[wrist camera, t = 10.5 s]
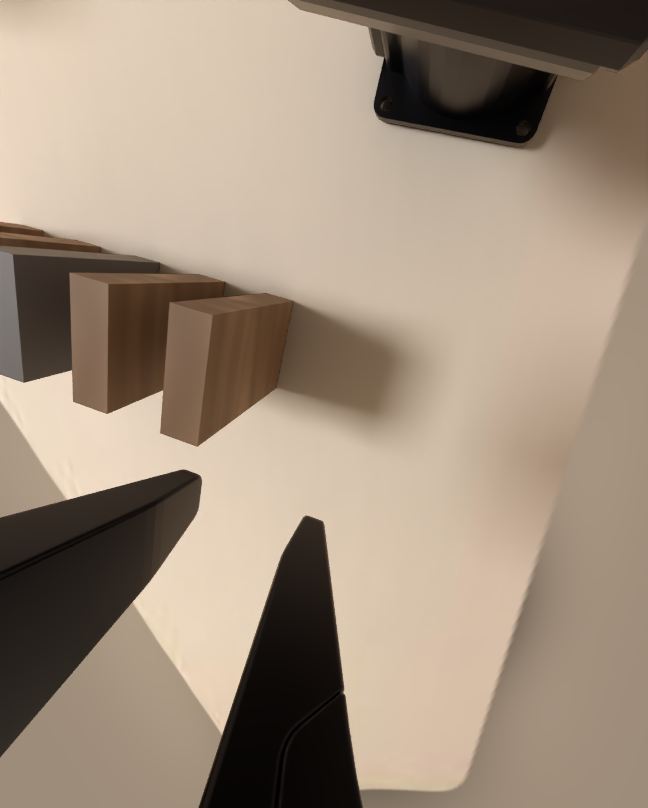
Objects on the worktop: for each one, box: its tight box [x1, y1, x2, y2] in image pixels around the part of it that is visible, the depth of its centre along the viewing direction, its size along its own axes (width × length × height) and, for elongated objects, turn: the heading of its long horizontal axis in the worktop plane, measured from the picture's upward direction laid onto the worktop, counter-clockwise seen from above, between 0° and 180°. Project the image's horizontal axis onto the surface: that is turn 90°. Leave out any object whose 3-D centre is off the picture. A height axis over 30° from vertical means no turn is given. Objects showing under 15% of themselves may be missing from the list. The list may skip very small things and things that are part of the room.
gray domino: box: [0, 246, 160, 383], centre depth 18 cm, size 2×5×8 cm, turn 166°
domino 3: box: [160, 293, 293, 447], centre depth 17 cm, size 2×5×8 cm, turn 166°
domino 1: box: [0, 232, 100, 253], centre depth 19 cm, size 2×5×8 cm, turn 166°
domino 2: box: [70, 273, 225, 414], centre depth 17 cm, size 2×5×8 cm, turn 166°
